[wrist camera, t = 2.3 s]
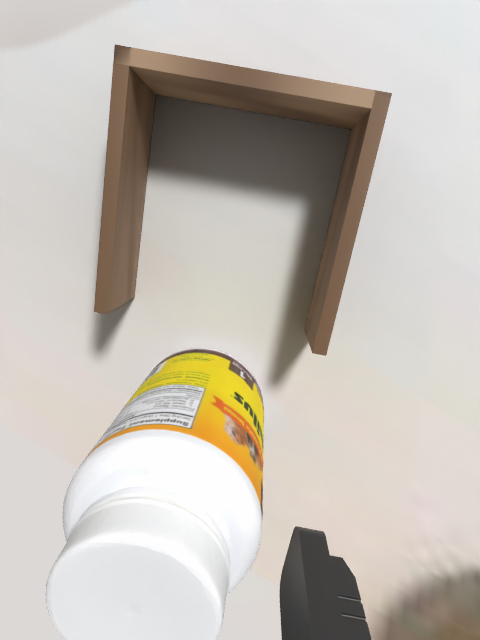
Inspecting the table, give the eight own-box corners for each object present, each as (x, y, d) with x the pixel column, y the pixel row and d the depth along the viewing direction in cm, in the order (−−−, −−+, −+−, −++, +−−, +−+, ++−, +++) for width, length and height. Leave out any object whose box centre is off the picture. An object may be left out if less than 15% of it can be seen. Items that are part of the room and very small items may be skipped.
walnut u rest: (367, 117, 15) (392, 93, 12) (316, 331, 17) (325, 355, 14) (144, 77, 15) (114, 44, 12) (123, 295, 17) (94, 311, 14)
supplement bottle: (268, 449, 19) (270, 709, 9) (155, 453, 19) (37, 704, 9) (259, 338, 17) (248, 500, 7) (137, 346, 18) (-24, 508, 8)
